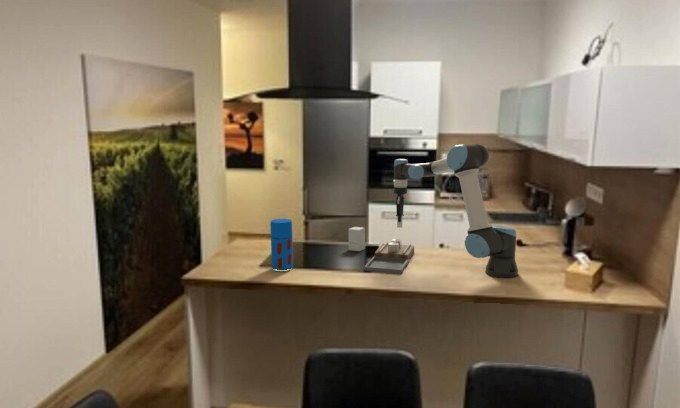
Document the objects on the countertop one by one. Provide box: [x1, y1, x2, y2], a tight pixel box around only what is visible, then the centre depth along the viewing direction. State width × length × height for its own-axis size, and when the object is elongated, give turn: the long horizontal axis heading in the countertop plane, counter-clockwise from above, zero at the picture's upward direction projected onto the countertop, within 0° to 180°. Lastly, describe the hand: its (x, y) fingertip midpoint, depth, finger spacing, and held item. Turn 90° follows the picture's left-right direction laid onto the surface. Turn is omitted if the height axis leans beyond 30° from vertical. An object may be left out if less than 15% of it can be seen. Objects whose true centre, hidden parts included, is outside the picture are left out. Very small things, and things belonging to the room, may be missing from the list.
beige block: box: [388, 241, 399, 252], centre depth 271 cm, size 5×5×4 cm
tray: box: [363, 255, 410, 275], centre depth 257 cm, size 19×20×2 cm
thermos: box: [269, 218, 294, 270], centre depth 252 cm, size 11×11×25 cm
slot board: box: [374, 241, 415, 261], centre depth 276 cm, size 18×20×5 cm
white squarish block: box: [390, 238, 403, 249], centre depth 279 cm, size 5×5×4 cm
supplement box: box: [348, 226, 366, 252], centre depth 290 cm, size 7×7×13 cm
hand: (399, 227), depth 287 cm, fingers closed
